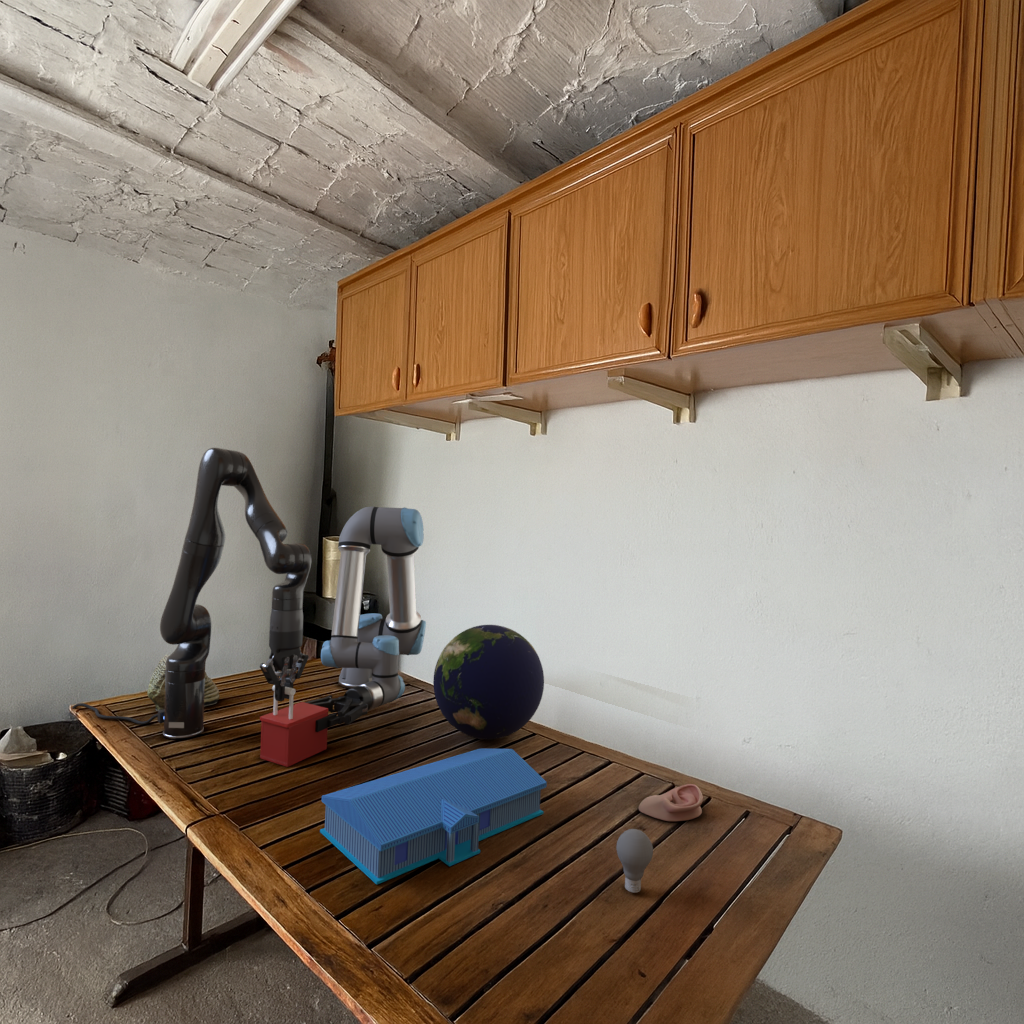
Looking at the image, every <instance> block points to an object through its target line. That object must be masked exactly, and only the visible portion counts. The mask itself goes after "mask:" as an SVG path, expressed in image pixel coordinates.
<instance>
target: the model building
mask: <svg viewBox="0 0 1024 1024" xmlns="http://www.w3.org/2000/svg"><path fill="white" fill-rule="evenodd" d="M547 786H548V781H546V780H545V779H544V778H543V777H542V776H541V775H540V774H539V773H538V772H537V771H536V770H535V769H534V768H533V767H532V766H531V765H529V763H528V762H527V761H526V760H524V758H523V757H521V755H520V754H519V753H518V752H516V751H515V750H514V749H513V748H482V747H481V748H480V747H479V748H477V749H474V750H471V751H467V752H464V753H460V754H457V755H454V756H449V757H447V758H444V759H440V760H437V761H434V762H430V763H427V764H423V765H420V766H416V767H413V768H410V769H407V770H403V771H400V772H397V773H393V774H390V775H387V776H384V777H379V778H377V779H374V780H370V781H366V782H363V783H360V784H356V785H354V786H350V787H347V788H344V789H339V790H337V791H333V792H330V793H327V794H323V795H321V802H322V803H323V804H324V805H325V810H324V811H325V813H324V828H321V829H319V833H320V834H321V835H322V836H323V837H324V838H326V839H327V840H328V842H330V843H331V844H332V845H333V846H334V847H336V848H337V850H338V851H340V852H341V853H342V854H343V855H344V856H345V857H346V858H347V859H348V860H349V861H351V863H352V864H354V865H355V866H356V867H357V868H358V869H359V870H360V871H361V872H362V873H363V874H364V875H365V876H367V877H368V878H369V879H370V880H371V881H372V882H373V883H374V884H375V885H381V884H382V883H384V882H387V881H389V880H391V879H394V878H397V877H398V876H401V875H404V874H405V873H408V872H410V871H412V870H415V869H417V868H419V867H422V866H424V865H427V864H429V863H431V862H434V861H436V860H440V861H441V862H442V863H444V864H445V865H447V866H448V867H452V866H455V865H456V864H458V863H461V862H463V861H465V860H467V859H470V858H473V857H474V856H477V855H479V854H481V849H480V848H479V842H481V841H483V840H486V839H487V838H490V837H492V836H495V835H497V834H499V833H502V832H504V831H506V830H509V829H511V828H513V827H516V826H518V825H520V824H523V823H525V822H527V821H530V820H532V819H534V818H537V817H539V816H542V815H544V813H545V811H544V810H542V809H541V792H542V791H541V790H544V789H546V788H547Z"/></svg>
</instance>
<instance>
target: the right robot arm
mask: <svg viewBox="0 0 1024 1024" xmlns="http://www.w3.org/2000/svg"><path fill="white" fill-rule="evenodd" d="M424 535H425V534H424V522H423V517H422V515H421V513H420V512H419V510H418V509H415V508H408V507H388V506H387V507H385V506H373V505H372V506H365V507H363V508H361V509H359V510H358V511H357V510H356V512H355V513H354V514H352V516H350V517H349V518H348V520H347V521H346V522H345V524H344V526H343V528H342V529H341V532H340V533H339V539H338V544H337V549H338V551H339V552H340V556H339V565H338V574H337V583H336V592H335V601H334V611H333V618H332V627H331V638H330V639H329V640H325V641H323V643H322V646H321V649H320V661H321V664H322V665H323V666H324V667H328V668H336V669H341V671H340V673H339V677H338V685H339V686H340V687H341V688H344V689H347V690H346V691H345V693H344V694H343V696H342V695H341V696H338V697H334V698H333V695H331V694H329V695H327V696H324V697H321V698H316V699H311V700H307V701H303V702H304V703H308V704H312V705H316V706H320V707H324V708H328V713H331V714H328V716H326V717H323V718H321V719H318V720H316V728H315V732H319V731H321V730H324V729H326V728H328V729H329V728H331V727H333V726H335V725H342V724H343V723H344V725H345V726H348V725H350V724H352V723H354V722H355V721H356V720H358V719H359V718H361V717H363V716H365V715H368V712H371V710H372V711H373V710H374V709H377V708H379V707H381V706H384V705H386V704H390V703H393V702H394V701H396V700H398V699H400V698H401V697H402V696H403V694H404V692H405V691H406V684H405V682H404V678H403V677H402V676H401V675H400V674H399V662H400V661H399V660H400V659H399V658H400V655H401V656H402V655H403V656H417V655H419V654H420V653H422V649H423V646H424V640H425V634H426V628H427V622H426V620H424V619H422V617H421V614H420V612H418V611H417V600H416V598H417V597H416V595H417V594H416V570H415V567H416V565H415V554H416V553H417V552H418V551H419V549H420V547H422V546H423V544H424V540H425V539H424V538H425V537H424ZM371 545H377V546H379V545H380V548H381V553H382V554H384V555H385V556H386V567H387V569H386V570H387V582H388V583H387V585H388V599H389V601H388V602H389V604H388V605H389V613H388V614H387V615H386V618H383V615H382V614H381V613H375V612H374V613H364V614H361V609H362V598H363V591H364V582H365V581H364V580H365V571H366V561H367V555H368V554H369V553H370V552H371Z"/></svg>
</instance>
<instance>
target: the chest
mask: <svg viewBox="0 0 1024 1024" xmlns="http://www.w3.org/2000/svg"><path fill="white" fill-rule="evenodd" d="M328 715H329V712H326V713H324V714H321V715H319V716H316V717H314V718H311V719H309V720H306V721H304V722H301V723H298V724H296V725H293V726H291V727H288V728H286V727H282V726H279V725H275V724H272V723H268V722H264V721H261V720H260V721H261V725H260V749H259V751H260V753H259V754H260V755H259V759H261V760H263V761H267V762H271V763H273V764H277V765H280V766H283V767H285V768H288V767H291V766H293V765H295V764H297V763H300V762H302V761H303V760H306V759H309V758H311V757H313V756H315V755H317V754H319V753H321V752H323V751H326V750H327V749H328V732H329V731H328V729H329V727H328V728H326V729H324V730H321V731H319V732H315V728H316V720H318V719H321V718H323V717H326V716H328Z"/></svg>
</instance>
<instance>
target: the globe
mask: <svg viewBox="0 0 1024 1024" xmlns="http://www.w3.org/2000/svg"><path fill="white" fill-rule="evenodd" d="M433 671H434V672H433V680H432V681H433V682H432V683H433V693H434V697H435V701H436V704H437V707H438V709H439V710H440V712H441V714H442V715H443V717H444V718H445V720H446V721H447V722H448V723H449V724H450V725H451V726H452V727H453V728H455V730H458V731H459V732H460V733H462V734H463V735H466V736H469V737H471V738H475V739H478V740H497V739H501V738H505V737H508V736H510V735H512V734H514V733H516V732H518V731H519V730H521V729H522V728H523V727H525V725H527V724H528V723H529V722H530V720H531V719H533V717H534V715H535V714H536V712H537V711H538V708H539V706H540V704H541V701H542V699H543V694H544V689H545V675H544V668H543V665H542V662H541V659H540V656H539V655H538V652H537V651H536V649H535V647H534V646H533V645H532V644H531V642H530V641H528V639H526V638H525V637H524V636H523V635H522V634H520V633H519V632H518V631H516V630H514V629H512V628H509V627H506V626H503V625H499V624H481V625H476V626H472V627H469V628H467V629H465V630H463V631H461V632H460V633H458V634H456V635H455V636H454V637H453V638H452V639H451V640H449V642H448V643H446V645H445V646H444V647H443V649H442V651H441V652H440V654H439V656H438V659H437V661H436V663H435V667H434V670H433Z"/></svg>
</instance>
